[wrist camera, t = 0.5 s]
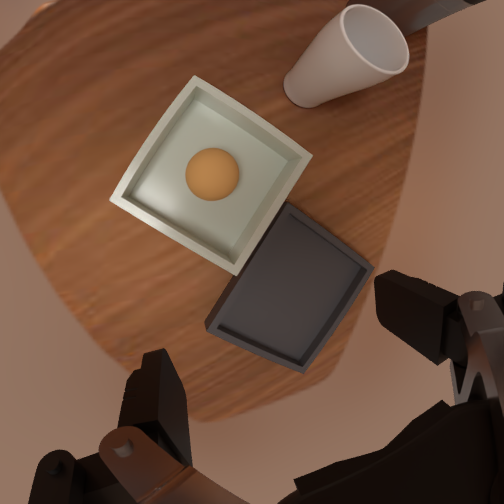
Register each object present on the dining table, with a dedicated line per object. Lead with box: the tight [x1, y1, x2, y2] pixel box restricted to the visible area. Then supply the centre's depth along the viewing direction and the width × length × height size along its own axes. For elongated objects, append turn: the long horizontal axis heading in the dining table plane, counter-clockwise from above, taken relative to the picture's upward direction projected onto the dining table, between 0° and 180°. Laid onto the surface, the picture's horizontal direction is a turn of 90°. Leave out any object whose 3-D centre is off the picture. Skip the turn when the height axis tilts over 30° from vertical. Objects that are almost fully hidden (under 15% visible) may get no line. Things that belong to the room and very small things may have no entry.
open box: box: [109, 75, 313, 276], centre depth 27 cm, size 14×14×5 cm
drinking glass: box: [283, 4, 409, 108], centre depth 23 cm, size 7×7×15 cm
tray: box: [205, 202, 375, 374], centre depth 33 cm, size 16×14×2 cm
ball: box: [185, 148, 239, 201], centre depth 26 cm, size 5×5×5 cm
